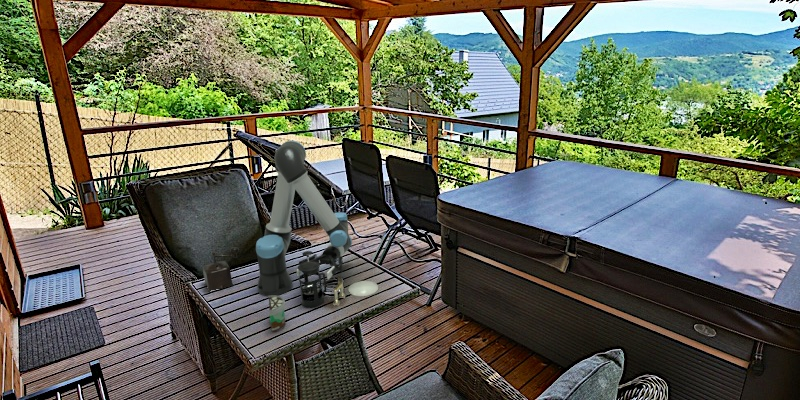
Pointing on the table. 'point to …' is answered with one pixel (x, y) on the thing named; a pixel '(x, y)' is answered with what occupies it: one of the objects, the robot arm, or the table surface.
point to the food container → (276, 312)
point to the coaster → (363, 288)
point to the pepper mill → (219, 272)
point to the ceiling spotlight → (341, 295)
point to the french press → (311, 283)
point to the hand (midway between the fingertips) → (312, 274)
